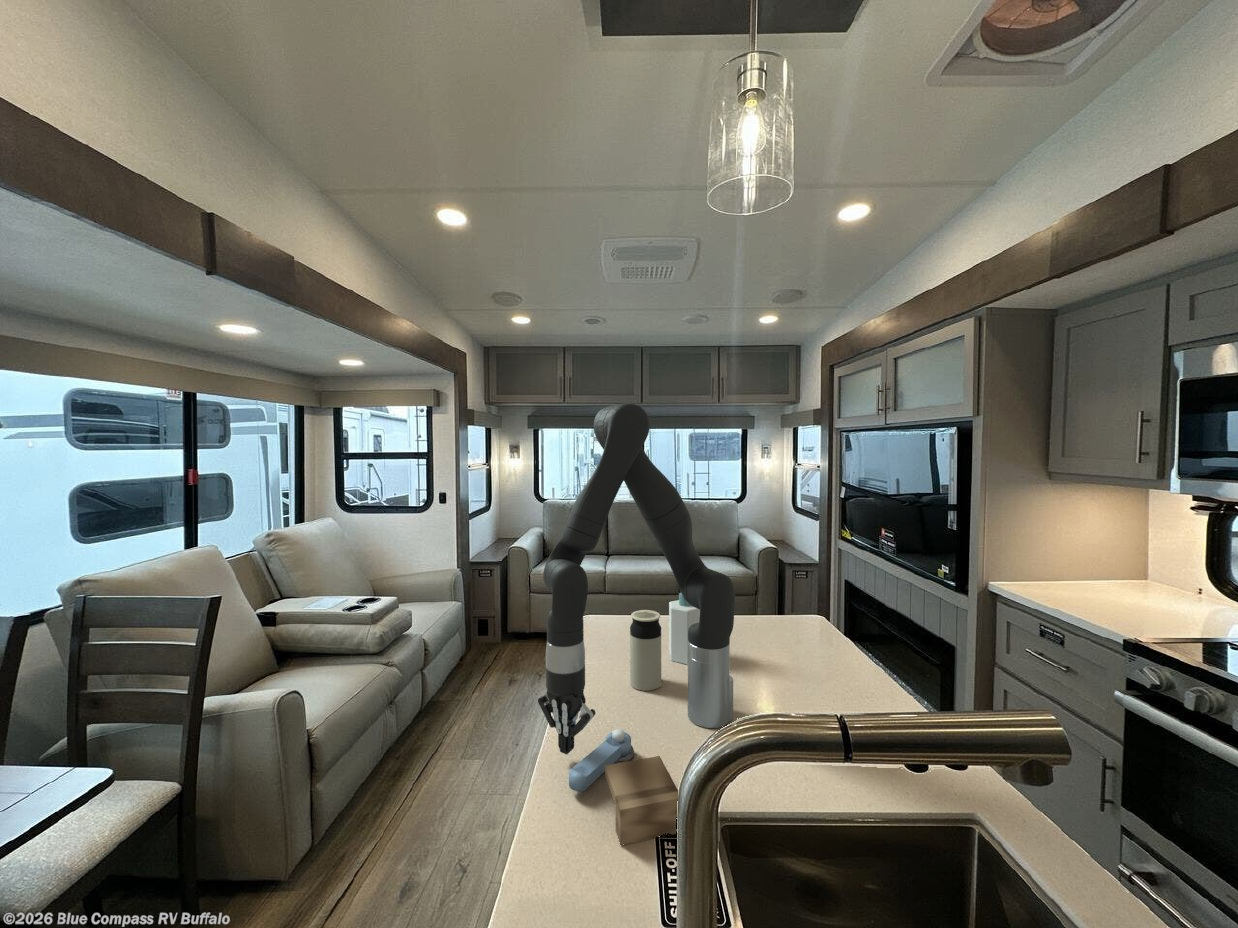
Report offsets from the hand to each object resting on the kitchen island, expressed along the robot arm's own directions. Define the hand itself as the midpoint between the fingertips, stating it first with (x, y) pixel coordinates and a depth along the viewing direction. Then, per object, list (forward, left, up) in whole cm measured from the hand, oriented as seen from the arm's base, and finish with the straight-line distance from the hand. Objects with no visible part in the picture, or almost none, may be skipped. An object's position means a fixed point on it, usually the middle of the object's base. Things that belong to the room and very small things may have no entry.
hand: (566, 750), depth 92 cm
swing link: (-6, +5, 0) cm, 8 cm away
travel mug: (-24, -25, -2) cm, 35 cm away
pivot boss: (-10, +1, -2) cm, 10 cm away
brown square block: (-10, +16, -2) cm, 19 cm away
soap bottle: (-40, -37, -2) cm, 55 cm away
